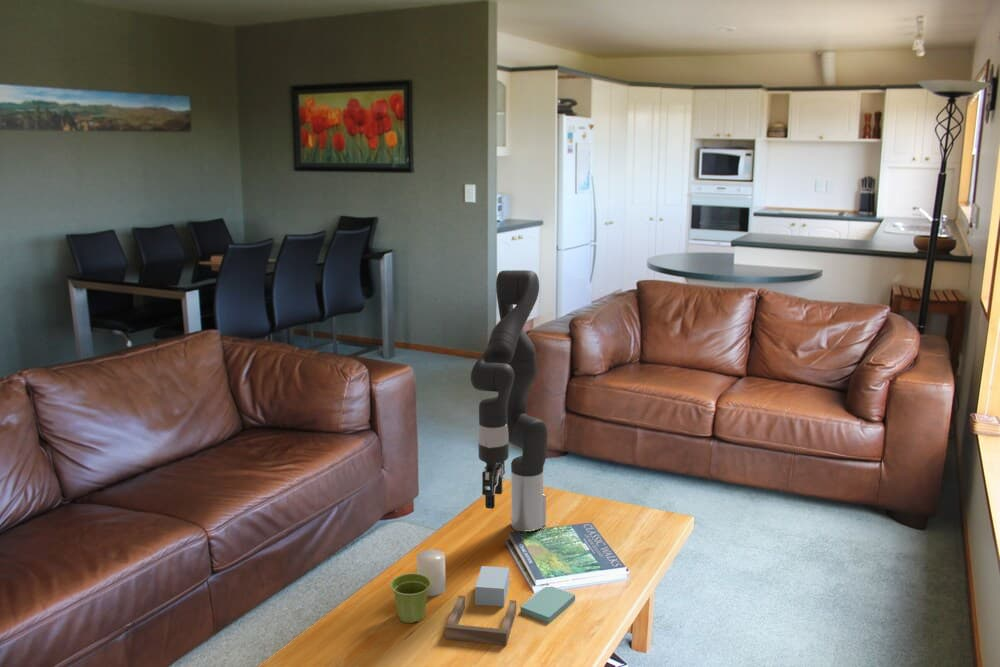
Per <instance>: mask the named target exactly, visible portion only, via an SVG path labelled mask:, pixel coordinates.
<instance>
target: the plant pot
mask: <svg viewBox="0 0 1000 667" xmlns="http://www.w3.org/2000/svg"><path fill="white" fill-rule="evenodd" d="M430 586H431V581H430V579H429V578H428V577H427V576H425V575H422V574H418V573H417V572H409V573H402V574H400V575H398V576H396V577H395V578H394V579H392V581H391V583H390V588H391V590H392V592H393V594H394V599H395V603H396V604H395V605H396V609H397V614H398V618H399V620H400V621H401V622H402V623H406V624H413V623H415V622H420V621H422V620H423V619H424V618H425V615H426V606H427V600H428V596H427V593H428V591H429V588H430Z"/></svg>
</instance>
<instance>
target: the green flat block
mask: <svg viewBox="0 0 1000 667" xmlns="http://www.w3.org/2000/svg"><path fill="white" fill-rule="evenodd" d="M550 586H551V585H550ZM544 587H545V586H544ZM544 587H542V589H540V590H539V591H538V592H537V593H536V594H534V595H533V596H531V598H529V599H528V600H527V601H526V602H525V603H523V604H522V605H521V606H520V611H519V612H520V613H521V614H524V615H526V616H530V617H531V618H534V619H537V620H539V621H542V622H545V623H547V624H550V623H551V622H553V621H554V619H556V618H557V617H558V616H559V615H561V613H562V612H564V611H565V610H566V609H567V608H568V607H569V606H571V605H572V602H573V603H575V601H576V594H574V593H571V592H569V591H566V590H562V589H560V588H556V587H554V586H551V587H545V588H544Z"/></svg>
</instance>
